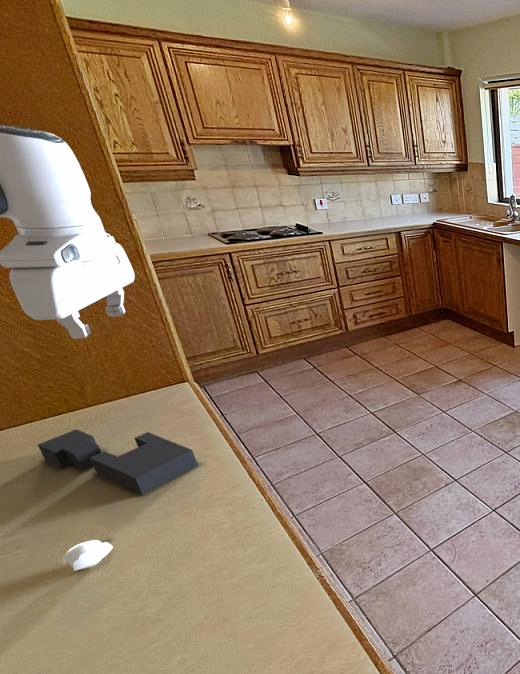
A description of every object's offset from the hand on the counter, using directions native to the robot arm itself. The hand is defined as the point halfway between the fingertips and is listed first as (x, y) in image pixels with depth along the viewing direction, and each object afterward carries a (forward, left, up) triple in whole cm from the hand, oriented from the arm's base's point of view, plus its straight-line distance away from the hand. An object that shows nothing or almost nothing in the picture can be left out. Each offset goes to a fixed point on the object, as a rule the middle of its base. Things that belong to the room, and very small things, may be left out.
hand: (100, 325), depth 78 cm
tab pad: (-3, -8, -23) cm, 24 cm away
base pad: (+10, -5, -23) cm, 25 cm away
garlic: (+24, -19, -23) cm, 38 cm away
